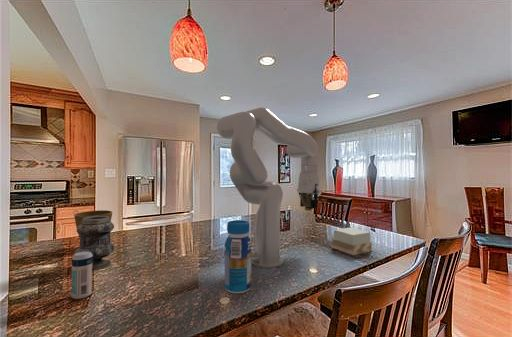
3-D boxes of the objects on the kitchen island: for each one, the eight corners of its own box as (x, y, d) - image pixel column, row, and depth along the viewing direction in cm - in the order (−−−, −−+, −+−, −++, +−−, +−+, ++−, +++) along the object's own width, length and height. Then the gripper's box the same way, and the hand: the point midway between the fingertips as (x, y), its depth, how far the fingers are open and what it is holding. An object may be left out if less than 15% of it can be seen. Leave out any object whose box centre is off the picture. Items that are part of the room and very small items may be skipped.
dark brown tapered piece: (315, 209, 118) (315, 193, 118) (317, 211, 111) (318, 194, 111) (299, 209, 119) (300, 192, 119) (301, 211, 112) (301, 193, 112)
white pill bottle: (95, 291, 72) (96, 250, 72) (84, 300, 67) (85, 256, 67) (78, 292, 71) (79, 250, 72) (66, 300, 67) (67, 256, 67)
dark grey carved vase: (116, 258, 99) (116, 213, 100) (110, 269, 88) (111, 219, 88) (80, 262, 95) (81, 215, 95) (70, 274, 84) (71, 221, 84)
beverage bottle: (218, 287, 75) (218, 221, 75) (239, 279, 80) (239, 218, 81) (236, 297, 69) (236, 226, 69) (257, 288, 74) (257, 222, 75)
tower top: (353, 245, 105) (353, 235, 105) (333, 239, 115) (333, 229, 115) (370, 242, 110) (370, 232, 111) (350, 236, 120) (350, 227, 120)
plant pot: (71, 246, 114) (72, 212, 115) (108, 240, 124) (108, 209, 125) (75, 254, 103) (76, 216, 104) (115, 247, 113) (115, 213, 113)
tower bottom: (353, 256, 105) (353, 245, 105) (332, 248, 116) (332, 239, 116) (371, 252, 111) (371, 242, 111) (350, 245, 121) (350, 236, 121)
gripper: (291, 169, 121) (290, 205, 121) (315, 168, 106) (315, 210, 105) (303, 169, 125) (302, 205, 124) (328, 169, 110) (327, 209, 109)
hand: (308, 207), depth 115 cm, fingers closed on dark brown tapered piece, 6 cm apart
